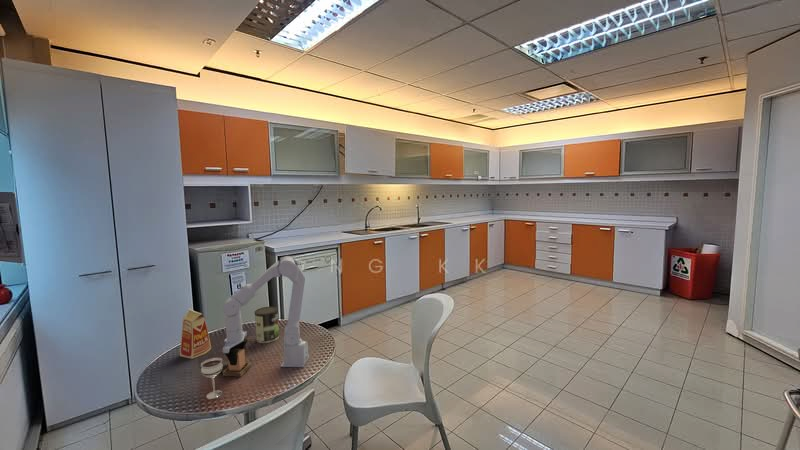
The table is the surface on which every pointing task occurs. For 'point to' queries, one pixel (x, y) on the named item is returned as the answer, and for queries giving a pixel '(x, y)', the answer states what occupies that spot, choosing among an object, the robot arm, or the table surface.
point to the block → (238, 361)
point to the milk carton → (194, 335)
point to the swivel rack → (227, 373)
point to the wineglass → (212, 373)
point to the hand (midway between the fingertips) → (236, 361)
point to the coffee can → (267, 324)
